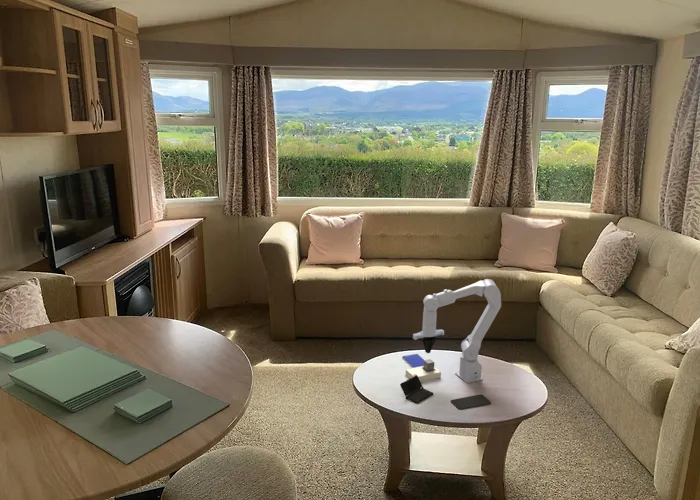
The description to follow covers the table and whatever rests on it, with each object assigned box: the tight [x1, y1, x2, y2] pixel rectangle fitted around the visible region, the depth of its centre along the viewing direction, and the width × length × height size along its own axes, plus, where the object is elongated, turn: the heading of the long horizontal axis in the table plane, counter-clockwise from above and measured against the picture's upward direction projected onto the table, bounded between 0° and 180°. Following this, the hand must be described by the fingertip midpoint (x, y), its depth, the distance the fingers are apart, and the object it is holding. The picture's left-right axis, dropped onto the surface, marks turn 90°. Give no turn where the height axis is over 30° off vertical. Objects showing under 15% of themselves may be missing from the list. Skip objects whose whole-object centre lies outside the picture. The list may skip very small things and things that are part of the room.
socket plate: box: [405, 366, 442, 383], centre depth 236 cm, size 8×13×3 cm, turn 114°
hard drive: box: [401, 353, 425, 368], centre depth 250 cm, size 2×8×12 cm
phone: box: [450, 393, 492, 411], centre depth 216 cm, size 7×1×15 cm
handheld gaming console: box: [399, 376, 434, 405], centre depth 220 cm, size 12×7×10 cm
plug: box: [423, 358, 435, 372], centre depth 238 cm, size 3×3×6 cm
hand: (427, 352), depth 236 cm, fingers closed
